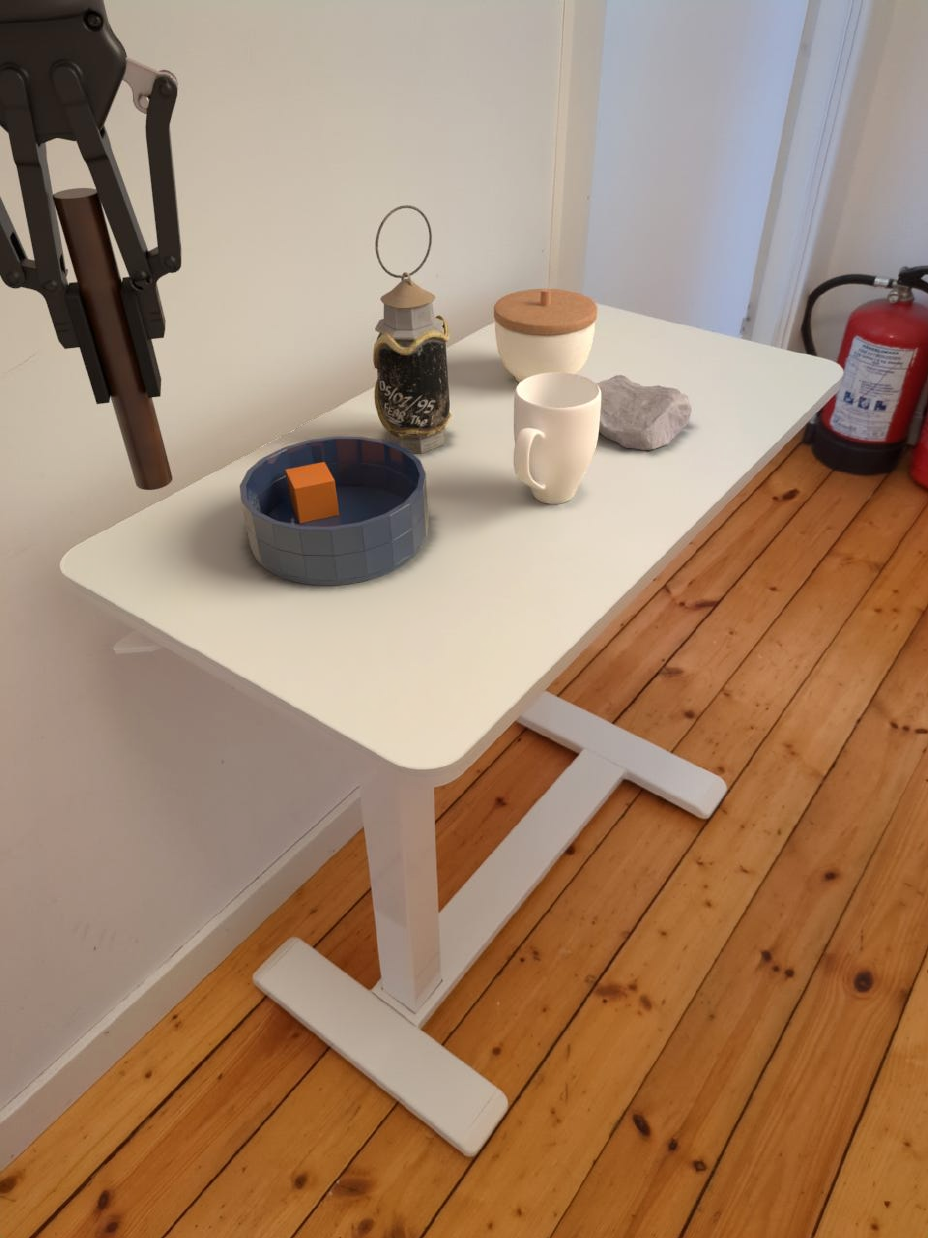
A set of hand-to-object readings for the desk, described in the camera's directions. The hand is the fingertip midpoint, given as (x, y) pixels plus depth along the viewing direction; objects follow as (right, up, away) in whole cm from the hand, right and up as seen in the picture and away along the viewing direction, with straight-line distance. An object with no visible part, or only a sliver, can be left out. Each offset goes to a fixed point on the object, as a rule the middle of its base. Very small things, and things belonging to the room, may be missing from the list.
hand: (129, 390), depth 56 cm
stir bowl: (+9, -6, +31) cm, 33 cm away
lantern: (+16, +6, +46) cm, 49 cm away
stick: (0, -5, +4) cm, 6 cm away
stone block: (+40, +8, +47) cm, 62 cm away
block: (+6, -3, +34) cm, 34 cm away
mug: (+29, -3, +35) cm, 46 cm away
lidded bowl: (+31, +17, +59) cm, 68 cm away
